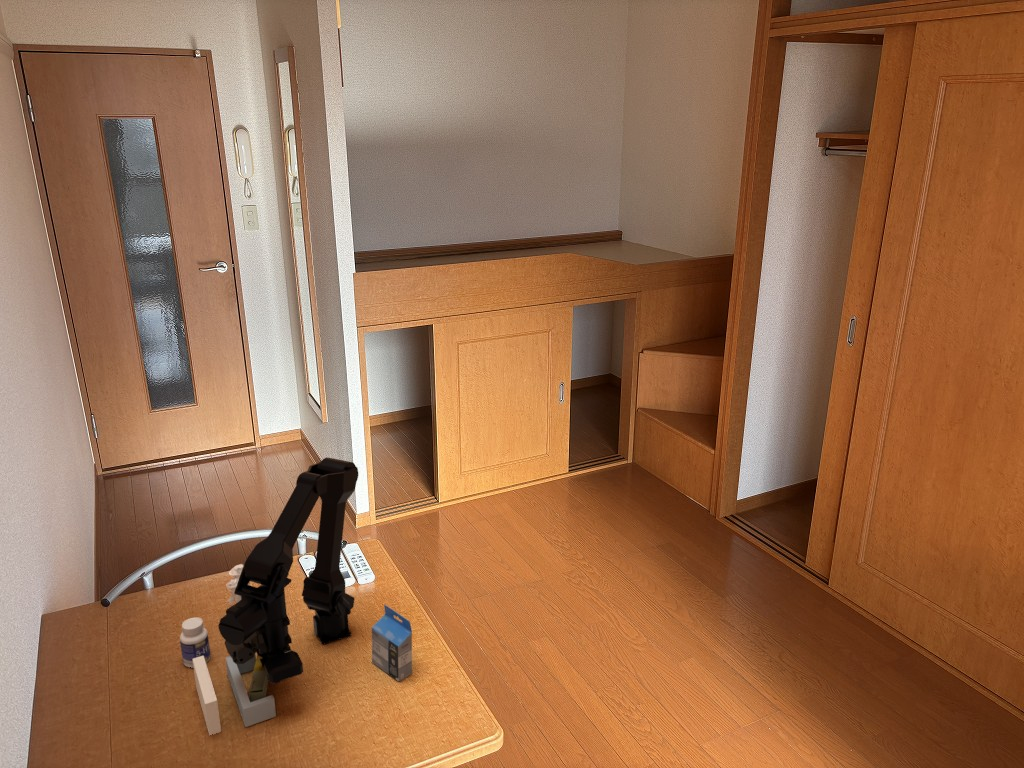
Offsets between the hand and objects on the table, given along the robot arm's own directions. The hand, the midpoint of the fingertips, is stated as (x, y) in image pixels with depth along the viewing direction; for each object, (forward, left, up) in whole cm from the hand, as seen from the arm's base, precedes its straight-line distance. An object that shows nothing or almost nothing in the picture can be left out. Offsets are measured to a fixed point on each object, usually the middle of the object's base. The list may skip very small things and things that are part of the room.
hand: (277, 681), depth 147 cm
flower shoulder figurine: (0, -30, -1) cm, 30 cm away
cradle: (+4, 0, -1) cm, 5 cm away
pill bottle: (+12, -16, -1) cm, 20 cm away
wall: (+13, 0, -1) cm, 13 cm away
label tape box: (-22, +6, -1) cm, 22 cm away
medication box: (+3, -1, -2) cm, 4 cm away
